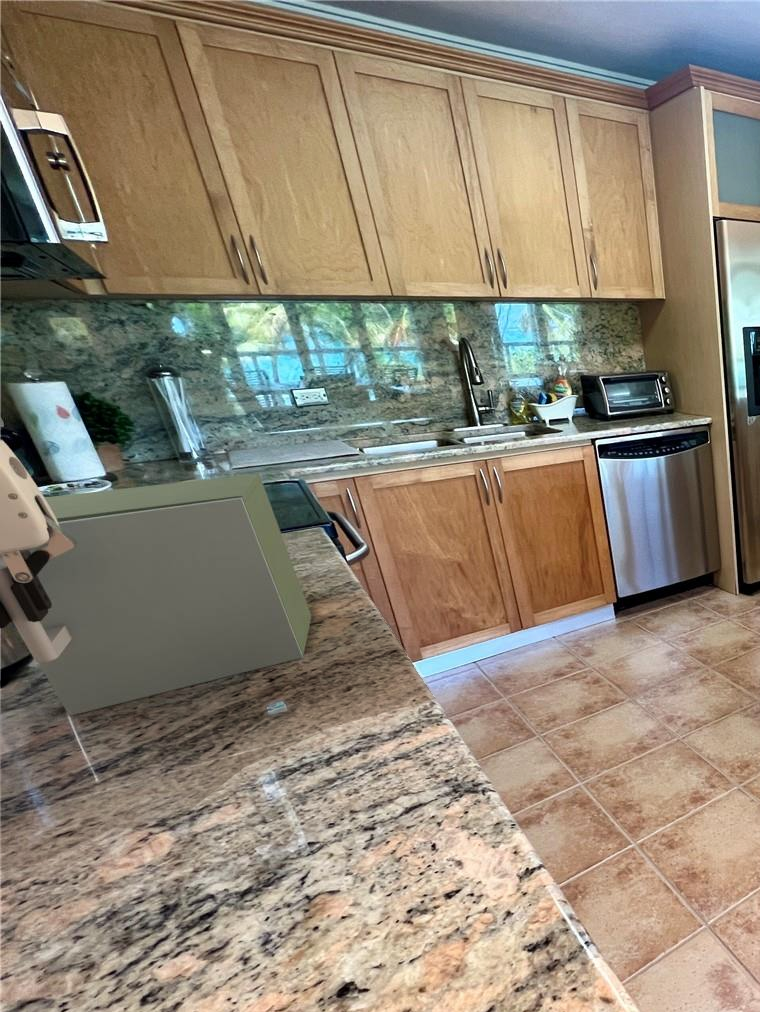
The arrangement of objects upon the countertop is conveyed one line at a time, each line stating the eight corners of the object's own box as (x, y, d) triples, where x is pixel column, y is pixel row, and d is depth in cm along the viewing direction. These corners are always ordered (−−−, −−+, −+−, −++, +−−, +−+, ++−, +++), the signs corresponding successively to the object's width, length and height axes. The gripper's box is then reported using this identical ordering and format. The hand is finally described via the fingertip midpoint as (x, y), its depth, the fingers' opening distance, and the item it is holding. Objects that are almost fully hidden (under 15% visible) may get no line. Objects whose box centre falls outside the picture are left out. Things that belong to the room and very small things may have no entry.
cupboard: (303, 655, 84) (241, 495, 76) (77, 706, 74) (-25, 528, 65) (311, 616, 96) (259, 473, 87) (117, 655, 86) (35, 498, 77)
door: (303, 677, 79) (237, 509, 70) (53, 743, 67) (-62, 552, 59) (302, 655, 84) (241, 497, 75) (70, 713, 73) (-33, 534, 64)
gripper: (55, 418, 63) (137, 589, 70) (-208, 436, 54) (-84, 629, 62) (32, 426, 57) (124, 612, 65) (-265, 448, 49) (-121, 659, 56)
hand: (22, 619), depth 63 cm, fingers closed on door
